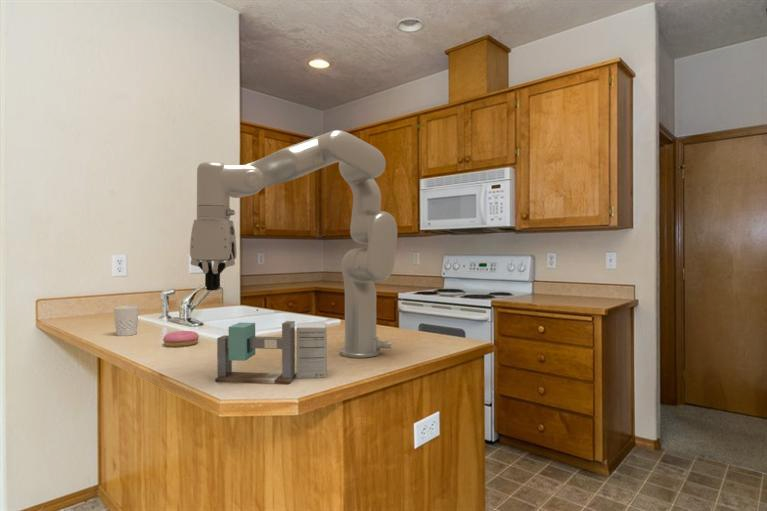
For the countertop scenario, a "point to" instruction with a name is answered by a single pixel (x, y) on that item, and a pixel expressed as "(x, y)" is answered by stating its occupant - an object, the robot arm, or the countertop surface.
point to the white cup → (126, 320)
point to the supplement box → (311, 350)
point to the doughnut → (181, 338)
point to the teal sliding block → (240, 341)
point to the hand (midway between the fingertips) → (212, 289)
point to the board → (254, 378)
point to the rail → (262, 343)
